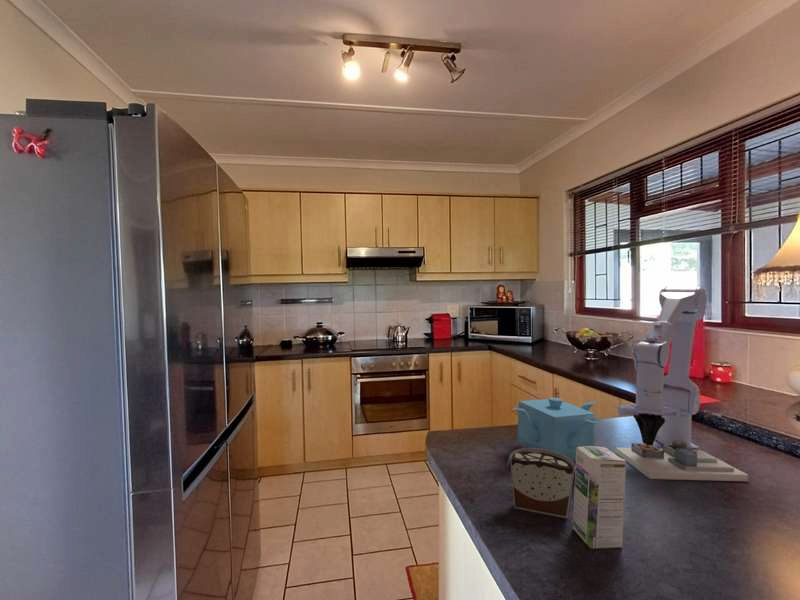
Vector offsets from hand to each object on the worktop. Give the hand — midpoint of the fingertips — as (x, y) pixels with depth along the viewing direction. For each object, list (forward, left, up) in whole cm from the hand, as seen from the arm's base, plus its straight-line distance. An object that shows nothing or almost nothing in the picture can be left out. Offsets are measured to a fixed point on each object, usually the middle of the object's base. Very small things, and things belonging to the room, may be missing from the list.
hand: (647, 443), depth 98 cm
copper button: (0, 0, -2) cm, 2 cm away
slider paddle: (+6, +5, -2) cm, 8 cm away
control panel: (+4, +5, -4) cm, 7 cm away
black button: (0, +8, -1) cm, 8 cm away
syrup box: (+33, -29, -4) cm, 44 cm away
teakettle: (+1, -23, -4) cm, 23 cm away
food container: (+23, -35, -4) cm, 42 cm away
